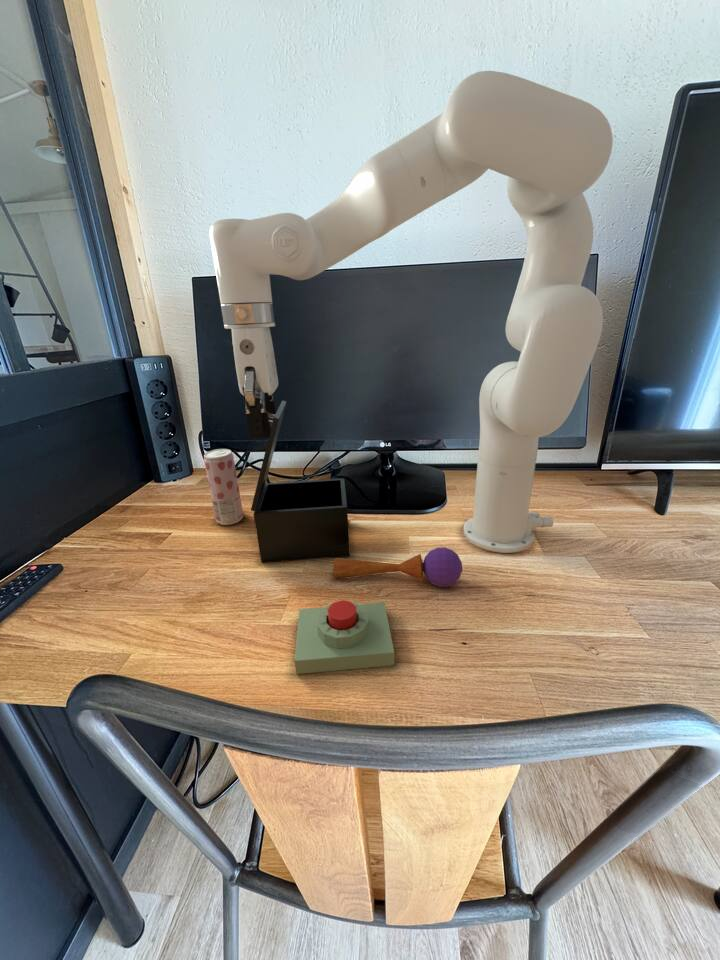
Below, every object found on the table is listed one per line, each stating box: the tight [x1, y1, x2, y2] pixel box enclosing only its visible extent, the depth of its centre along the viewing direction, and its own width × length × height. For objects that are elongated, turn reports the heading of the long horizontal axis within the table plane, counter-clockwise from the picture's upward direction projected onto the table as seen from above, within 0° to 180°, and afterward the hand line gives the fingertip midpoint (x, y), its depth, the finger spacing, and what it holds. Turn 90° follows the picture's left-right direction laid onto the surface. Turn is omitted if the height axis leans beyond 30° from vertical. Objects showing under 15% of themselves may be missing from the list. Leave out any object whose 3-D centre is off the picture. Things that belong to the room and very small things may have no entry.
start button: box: [328, 599, 357, 631], centre depth 51 cm, size 4×4×2 cm
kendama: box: [333, 546, 463, 588], centre depth 63 cm, size 6×6×20 cm
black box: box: [253, 478, 351, 564], centre depth 74 cm, size 16×13×10 cm
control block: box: [294, 600, 395, 675], centre depth 52 cm, size 12×9×4 cm
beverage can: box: [203, 448, 244, 526], centre depth 82 cm, size 6×6×15 cm
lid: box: [250, 400, 287, 512], centre depth 68 cm, size 16×13×5 cm
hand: (264, 429), depth 67 cm, fingers closed on lid, 7 cm apart
